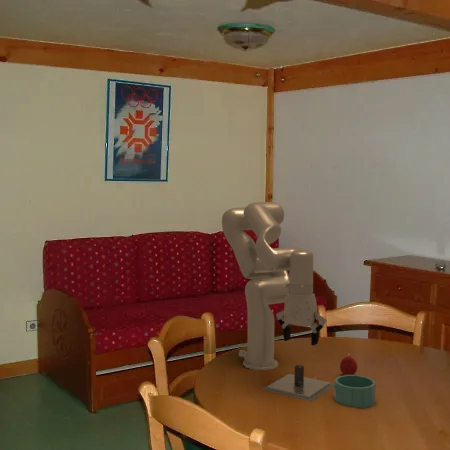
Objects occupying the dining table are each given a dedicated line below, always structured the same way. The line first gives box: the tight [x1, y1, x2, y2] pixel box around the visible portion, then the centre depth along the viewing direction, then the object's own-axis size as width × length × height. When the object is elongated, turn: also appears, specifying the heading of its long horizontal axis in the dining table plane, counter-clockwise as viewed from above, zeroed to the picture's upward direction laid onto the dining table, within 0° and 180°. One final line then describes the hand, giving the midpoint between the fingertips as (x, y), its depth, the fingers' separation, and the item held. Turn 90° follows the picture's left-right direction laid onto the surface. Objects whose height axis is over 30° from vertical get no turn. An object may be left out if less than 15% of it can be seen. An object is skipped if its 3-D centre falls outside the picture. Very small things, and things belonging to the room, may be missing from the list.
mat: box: [260, 373, 335, 402], centre depth 210 cm, size 18×18×1 cm
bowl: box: [333, 374, 377, 409], centre depth 199 cm, size 12×12×6 cm
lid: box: [266, 364, 331, 399], centre depth 210 cm, size 15×15×7 cm
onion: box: [339, 353, 358, 376], centre depth 221 cm, size 6×6×8 cm
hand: (300, 342), depth 208 cm, fingers open, 9 cm apart
